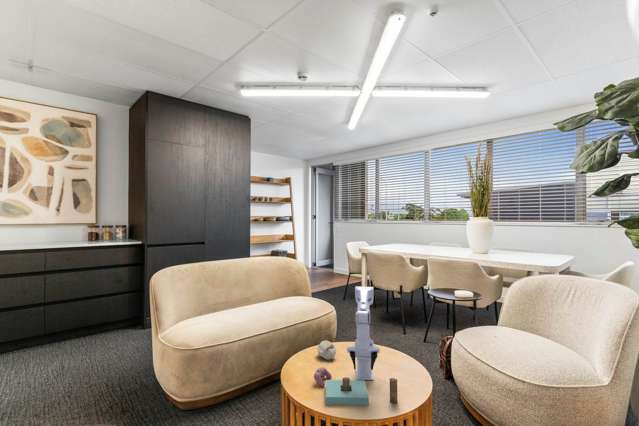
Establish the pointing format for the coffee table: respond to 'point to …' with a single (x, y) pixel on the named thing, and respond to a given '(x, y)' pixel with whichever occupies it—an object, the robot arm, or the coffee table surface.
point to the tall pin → (393, 390)
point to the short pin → (345, 384)
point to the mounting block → (346, 393)
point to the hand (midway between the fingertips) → (363, 368)
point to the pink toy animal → (321, 375)
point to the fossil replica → (326, 350)
